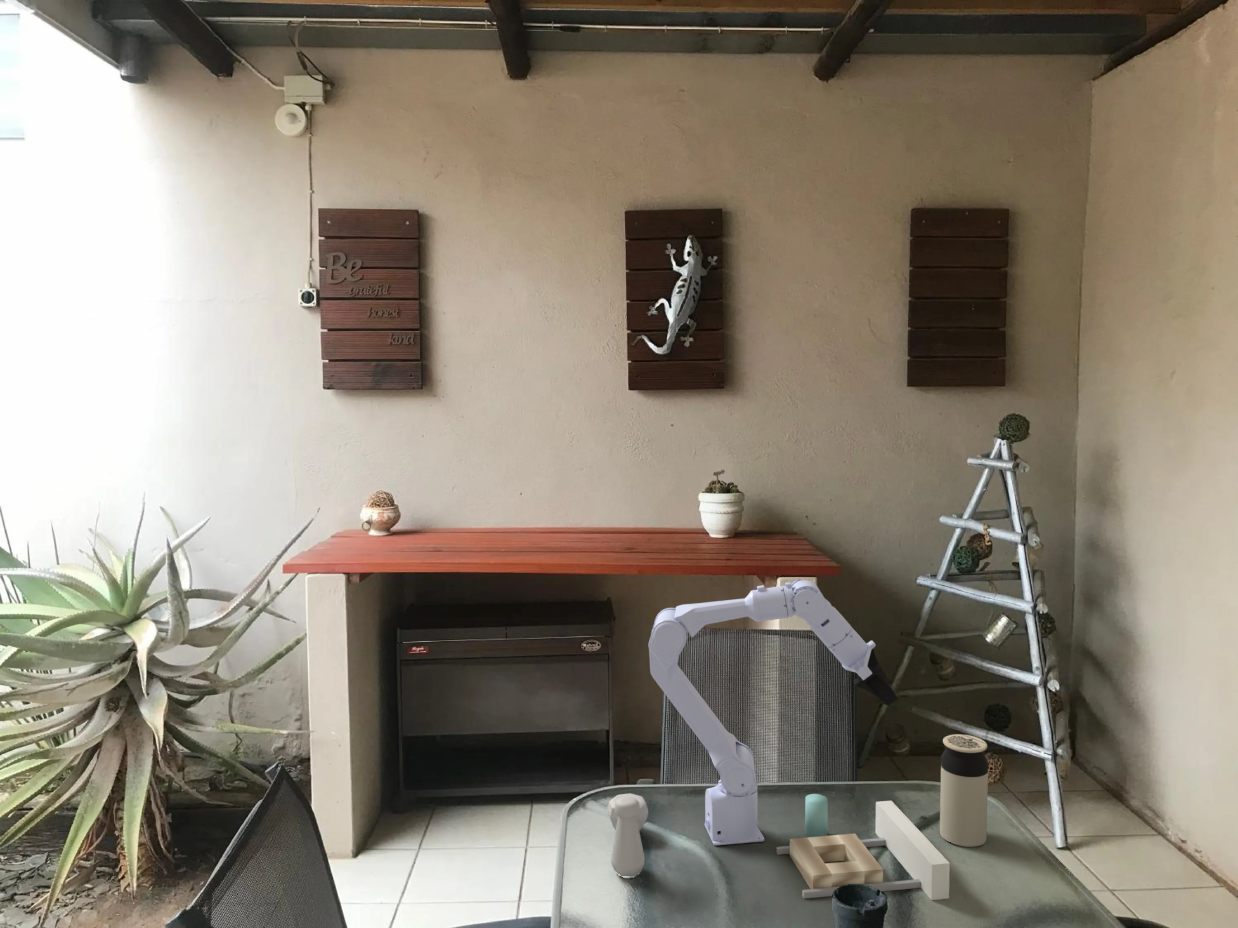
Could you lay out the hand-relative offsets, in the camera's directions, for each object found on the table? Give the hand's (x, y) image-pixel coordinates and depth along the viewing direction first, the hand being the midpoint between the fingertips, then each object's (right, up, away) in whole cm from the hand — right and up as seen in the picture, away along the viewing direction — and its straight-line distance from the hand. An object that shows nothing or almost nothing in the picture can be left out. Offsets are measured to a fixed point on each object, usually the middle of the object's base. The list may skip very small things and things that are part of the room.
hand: (889, 693), depth 164 cm
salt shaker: (-47, -29, -7) cm, 56 cm away
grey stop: (-8, -28, -7) cm, 30 cm away
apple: (-47, -28, +7) cm, 55 cm away
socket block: (-12, -28, -8) cm, 31 cm away
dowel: (-12, -27, +4) cm, 30 cm away
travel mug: (+14, -27, +3) cm, 31 cm away
